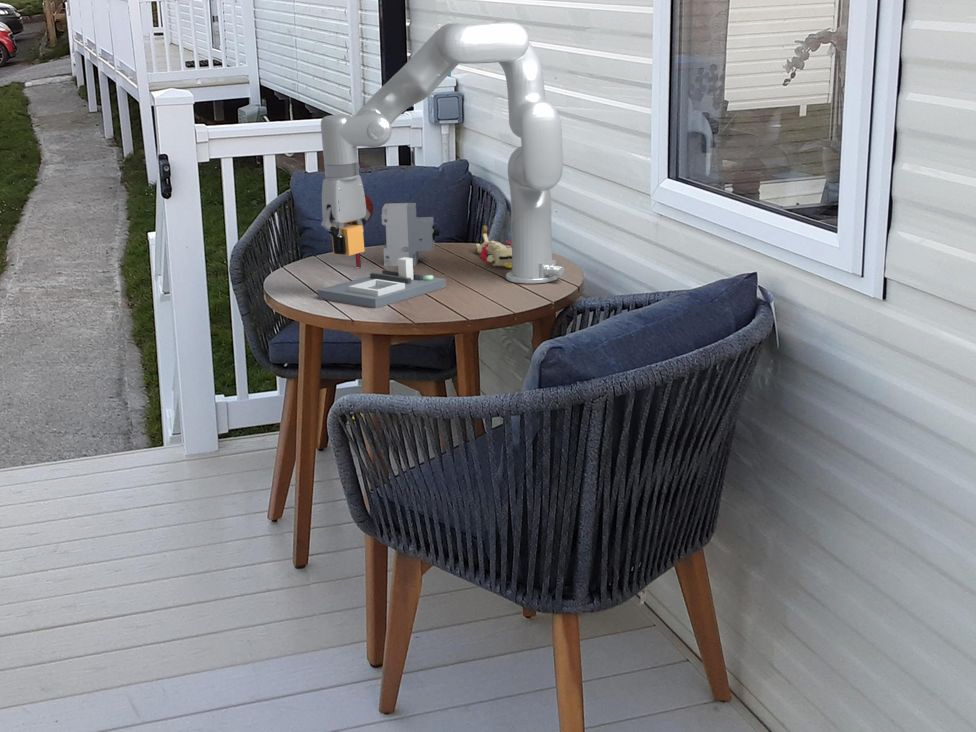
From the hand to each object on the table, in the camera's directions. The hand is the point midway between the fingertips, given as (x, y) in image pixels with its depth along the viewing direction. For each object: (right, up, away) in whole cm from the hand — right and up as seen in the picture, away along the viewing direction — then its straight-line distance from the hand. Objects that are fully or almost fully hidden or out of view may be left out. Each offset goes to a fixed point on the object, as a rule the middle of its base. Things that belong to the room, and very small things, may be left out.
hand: (348, 250), depth 267 cm
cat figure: (+34, 0, +36) cm, 50 cm away
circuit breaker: (+12, 0, +36) cm, 38 cm away
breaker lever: (+13, -6, +6) cm, 15 cm away
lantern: (-1, -1, +32) cm, 32 cm away
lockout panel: (+7, -9, +4) cm, 13 cm away
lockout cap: (0, 0, 0) cm, 1 cm away
